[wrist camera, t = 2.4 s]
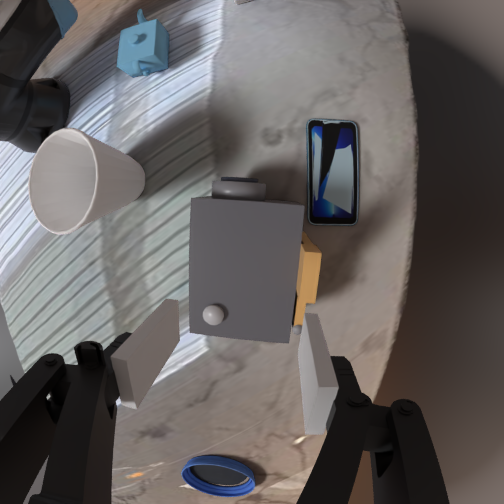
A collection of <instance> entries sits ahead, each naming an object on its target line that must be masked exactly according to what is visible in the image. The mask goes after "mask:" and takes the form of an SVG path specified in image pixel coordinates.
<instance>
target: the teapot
mask: <svg viewBox="0 0 504 504" xmlns="http://www.w3.org/2000/svg"><path fill="white" fill-rule="evenodd" d="M137 17H138V22H139V24H138V25H135V26H132V27H129V28H126V29H124V30H121V34H120V41H119V49H118V58H117V67H118V68H120V69H121V70H123V71H124V72H126V73H127V74H128V75H130V76H131V77H133V78H134V77H138V76H141V75H144V76H148V75H149V74H150V73H152V72H156V71H160V70H164V69H168V50H169V33H168V32H167V31H166V29H165V28H164V27H163V25H162V24H161V23H160V22H159V20H158V19H154V20H151V21H147V20H146V19H145V17H144V16H143V12H142V9H139V10H138V12H137Z"/></svg>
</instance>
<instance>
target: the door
mask: <svg viewBox="0 0 504 504" xmlns="http://www.w3.org/2000/svg"><path fill="white" fill-rule="evenodd" d="M321 256H322V253H321V251H320V250H319V248H318V247H317V246H316V245H313V244H312V242H311V241H310V239H309V238H308V236H307V235H306V233H305V232H302V240H301V250H300V259H299V268H298V277H297V286H296V294H295V302H294V310H293V317H292V329H293V333H294V334H297V335H299V334H301V331H302V325H303V319H304V313H305V306H306V303H314V304H315V300H316V293H317V286H318V279H319V272H320V264H321Z"/></svg>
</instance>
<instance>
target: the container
mask: <svg viewBox="0 0 504 504" xmlns="http://www.w3.org/2000/svg"><path fill="white" fill-rule="evenodd" d="M248 1H252V0H234V2H235V4H241V3H245V2H248Z"/></svg>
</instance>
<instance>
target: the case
mask: <svg viewBox="0 0 504 504" xmlns="http://www.w3.org/2000/svg"><path fill="white" fill-rule="evenodd" d="M265 192H266V184H262V183H258V179H252V178H239V177H221V181H212V196H207V197H196V198H191V212H190V244H189V323H190V333H196V334H203V335H210V336H218V337H226V338H234V339H244V340H254V341H264V342H276V343H289V339H290V332H291V325H292V317H293V310H294V302H295V294H296V286H297V277H298V268H299V259H300V250H301V240H302V230H303V219H304V207H305V206H304V205H302V204H300V203H298V202H291V201H280V200H267V199H265Z"/></svg>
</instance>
